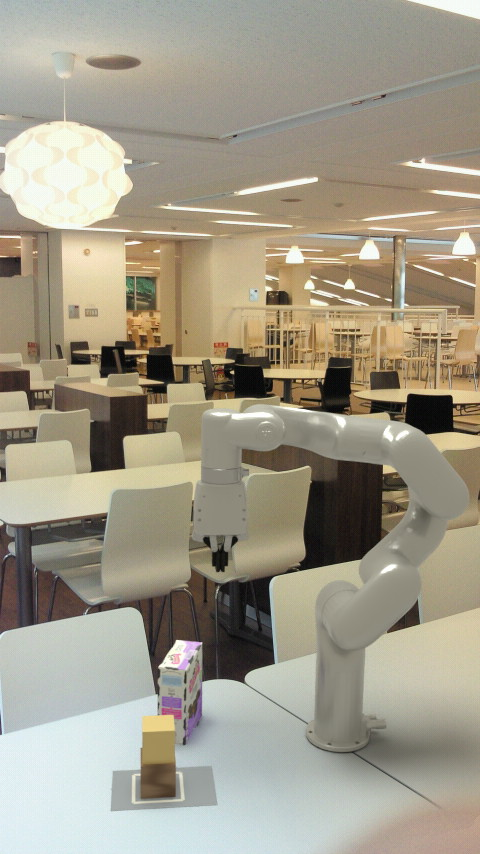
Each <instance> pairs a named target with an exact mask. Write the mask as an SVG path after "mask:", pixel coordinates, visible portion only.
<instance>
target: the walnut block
mask: <svg viewBox="0 0 480 854" xmlns="http://www.w3.org/2000/svg"><path fill="white" fill-rule="evenodd" d="M176 760H177V759H175V763H167V764H146V765H142V747H140V770H141V799H145V798H164V797H176V768H177V766H176V765H177V761H176Z"/></svg>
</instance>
